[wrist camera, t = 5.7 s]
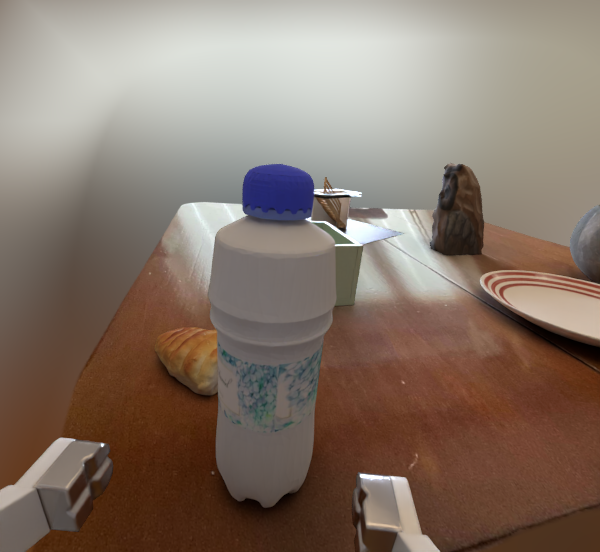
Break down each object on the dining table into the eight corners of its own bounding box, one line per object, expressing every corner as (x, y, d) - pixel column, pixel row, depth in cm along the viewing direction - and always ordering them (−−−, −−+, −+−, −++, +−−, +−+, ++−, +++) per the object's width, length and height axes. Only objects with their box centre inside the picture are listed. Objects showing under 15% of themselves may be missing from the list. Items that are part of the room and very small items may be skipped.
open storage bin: (254, 311, 43) (256, 246, 40) (241, 271, 56) (242, 219, 53) (354, 305, 47) (363, 245, 44) (321, 268, 60) (326, 221, 57)
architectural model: (326, 253, 69) (334, 185, 64) (247, 224, 87) (248, 169, 82) (404, 233, 93) (415, 182, 88) (330, 214, 111) (335, 171, 105)
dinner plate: (440, 285, 57) (445, 267, 56) (555, 280, 65) (562, 265, 63) (615, 394, 33) (630, 368, 32) (767, 367, 40) (785, 344, 39)
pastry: (136, 364, 31) (132, 329, 30) (190, 334, 37) (189, 304, 35) (208, 404, 27) (208, 367, 26) (257, 364, 33) (258, 331, 31)
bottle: (214, 435, 24) (208, 155, 17) (300, 426, 26) (329, 164, 19) (211, 532, 18) (198, 163, 11) (323, 513, 20) (379, 176, 12)
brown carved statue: (443, 256, 74) (467, 164, 67) (408, 240, 85) (425, 160, 78) (484, 254, 79) (510, 168, 71) (446, 240, 89) (465, 163, 82)
